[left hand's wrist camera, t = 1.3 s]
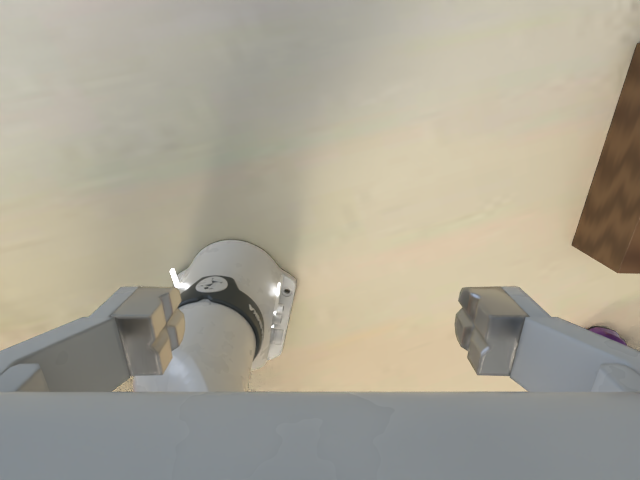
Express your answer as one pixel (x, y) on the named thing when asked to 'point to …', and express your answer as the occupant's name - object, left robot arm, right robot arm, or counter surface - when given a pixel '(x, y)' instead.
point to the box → (616, 187)
